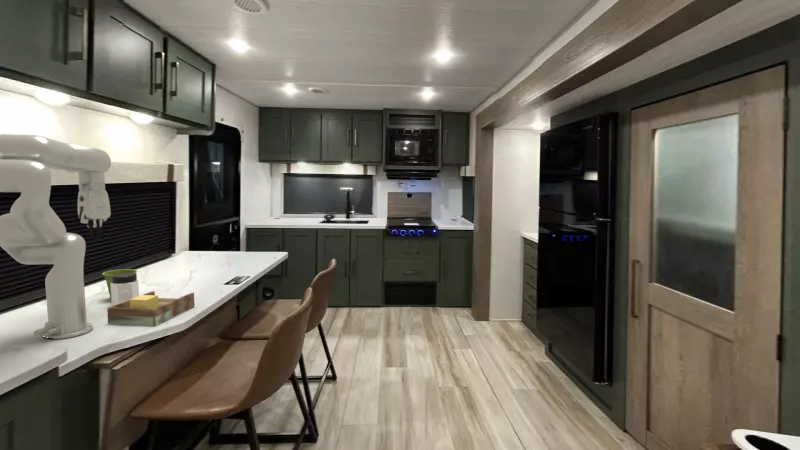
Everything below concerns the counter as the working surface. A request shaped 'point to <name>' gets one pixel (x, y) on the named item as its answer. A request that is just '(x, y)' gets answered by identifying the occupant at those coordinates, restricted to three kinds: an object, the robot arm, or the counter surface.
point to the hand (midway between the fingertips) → (95, 238)
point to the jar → (124, 287)
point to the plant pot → (109, 274)
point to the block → (144, 302)
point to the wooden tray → (149, 311)
